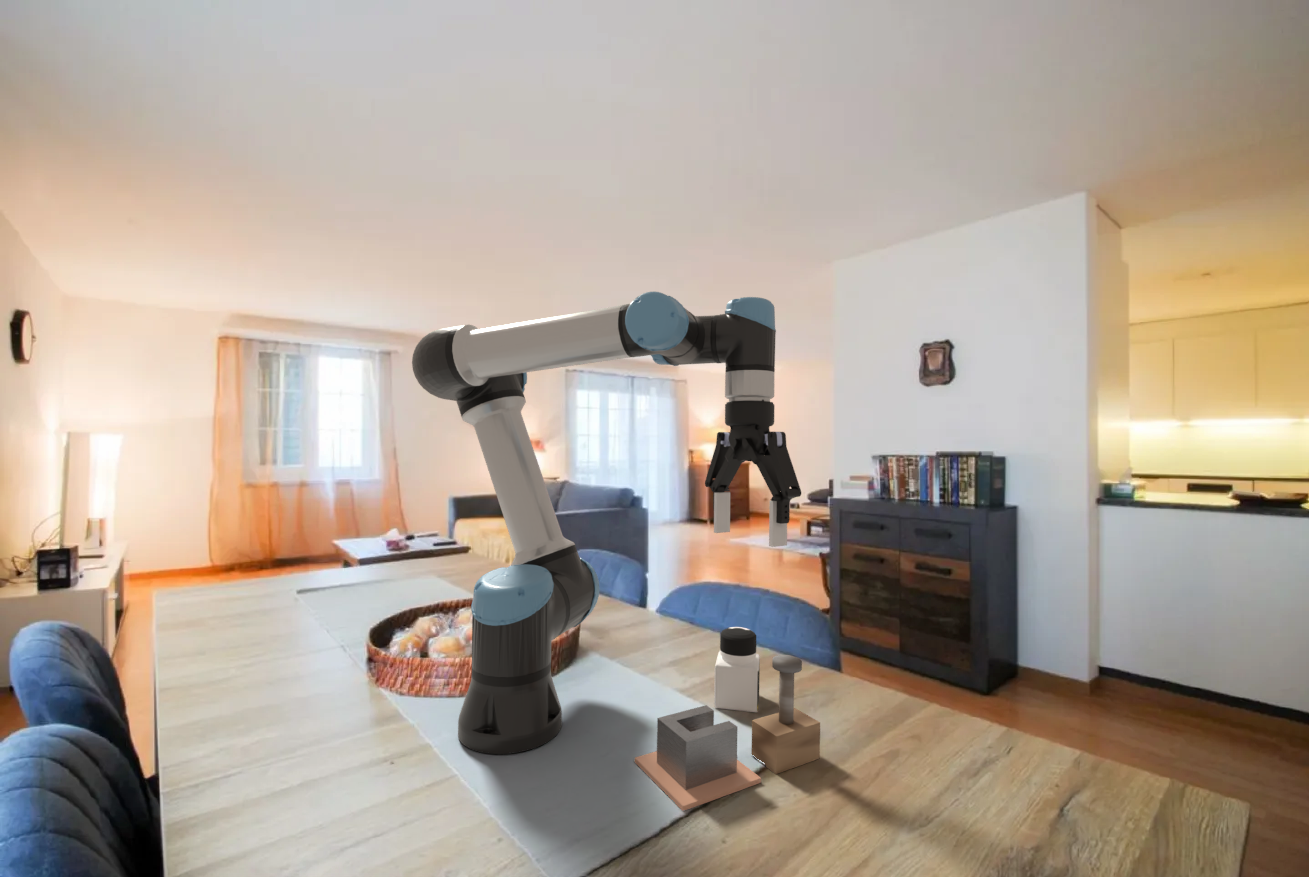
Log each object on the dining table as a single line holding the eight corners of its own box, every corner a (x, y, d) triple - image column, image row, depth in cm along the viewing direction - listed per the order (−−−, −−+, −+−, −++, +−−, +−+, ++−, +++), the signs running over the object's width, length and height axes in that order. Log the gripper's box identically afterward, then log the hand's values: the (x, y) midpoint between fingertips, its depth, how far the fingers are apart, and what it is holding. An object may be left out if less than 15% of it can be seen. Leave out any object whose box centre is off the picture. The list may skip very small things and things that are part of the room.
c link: (685, 790, 72) (686, 741, 72) (656, 762, 78) (657, 717, 78) (736, 772, 76) (737, 726, 76) (705, 747, 82) (706, 705, 82)
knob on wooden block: (751, 756, 81) (753, 659, 81) (793, 741, 86) (795, 649, 86) (776, 774, 77) (777, 671, 77) (819, 758, 81) (821, 661, 81)
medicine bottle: (758, 713, 94) (759, 639, 94) (713, 708, 96) (715, 635, 96) (759, 694, 101) (760, 625, 101) (718, 690, 103) (719, 622, 103)
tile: (634, 761, 79) (634, 757, 79) (706, 740, 86) (706, 736, 86) (682, 811, 69) (682, 806, 69) (760, 782, 75) (761, 777, 75)
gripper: (828, 397, 81) (826, 550, 81) (721, 405, 103) (720, 526, 103) (787, 394, 77) (785, 554, 77) (685, 403, 99) (684, 528, 99)
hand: (748, 538), depth 90 cm, fingers open, 13 cm apart
